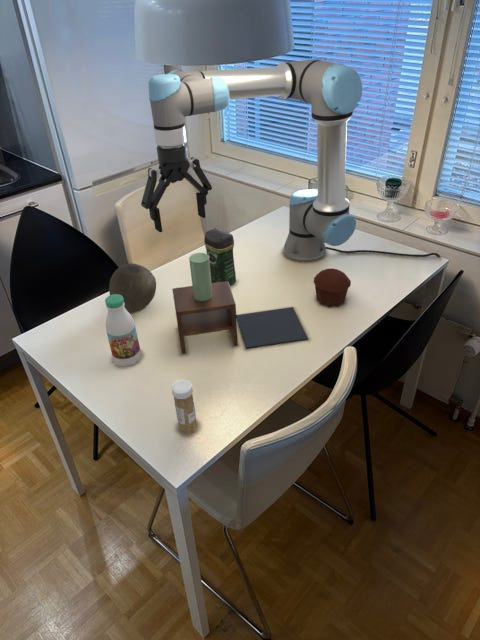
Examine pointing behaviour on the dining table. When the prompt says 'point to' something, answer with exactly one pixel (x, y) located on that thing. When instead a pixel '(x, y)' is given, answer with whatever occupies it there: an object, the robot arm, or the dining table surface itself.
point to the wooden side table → (205, 312)
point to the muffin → (331, 287)
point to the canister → (201, 276)
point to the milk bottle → (121, 332)
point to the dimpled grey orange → (133, 286)
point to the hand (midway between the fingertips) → (180, 223)
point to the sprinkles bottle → (184, 406)
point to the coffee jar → (220, 255)
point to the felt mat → (270, 327)
